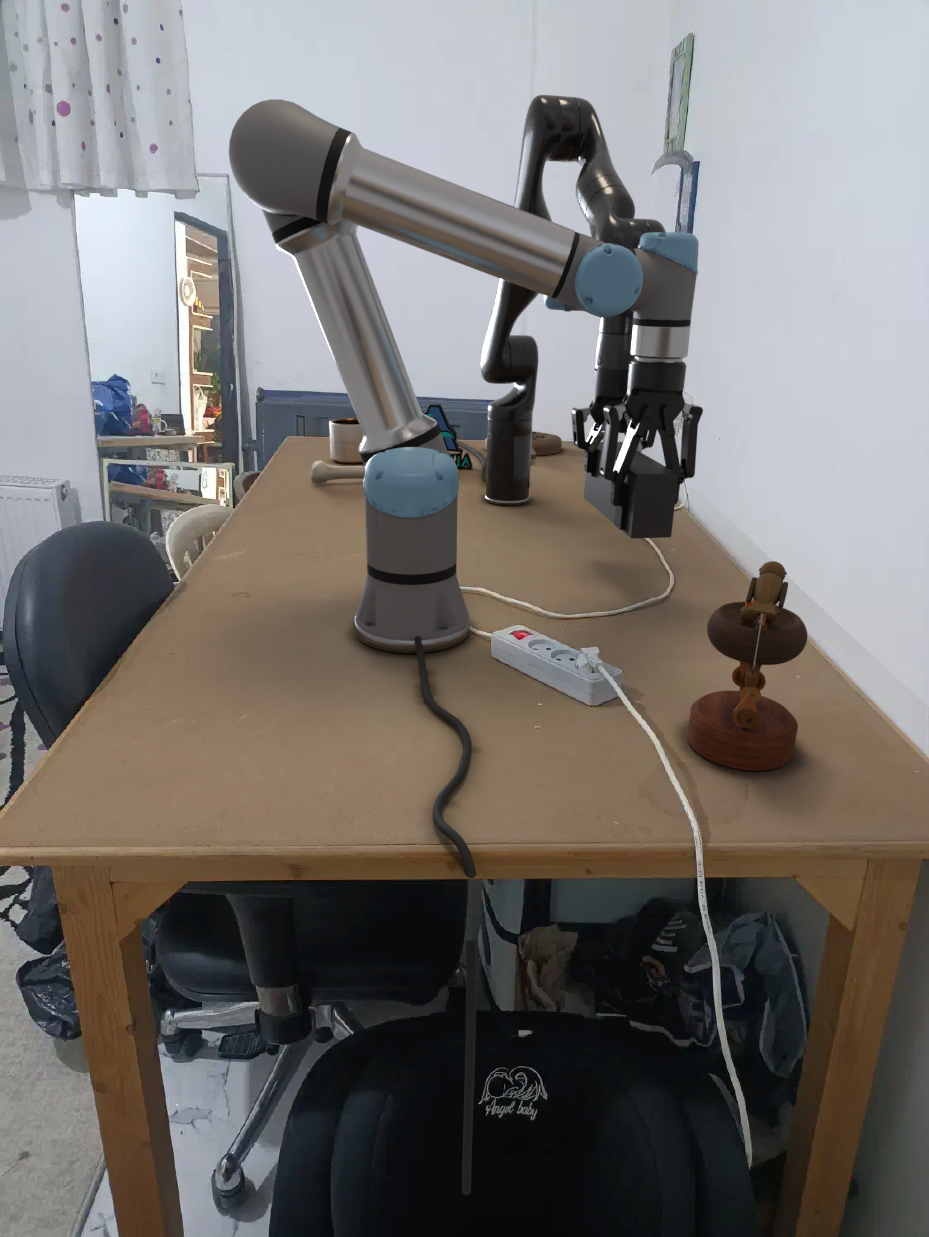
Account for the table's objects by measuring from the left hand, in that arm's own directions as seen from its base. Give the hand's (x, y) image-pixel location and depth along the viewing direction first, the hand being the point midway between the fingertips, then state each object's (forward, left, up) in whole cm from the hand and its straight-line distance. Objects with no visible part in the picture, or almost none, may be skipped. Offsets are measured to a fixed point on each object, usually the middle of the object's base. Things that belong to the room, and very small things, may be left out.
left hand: (641, 526), depth 122 cm
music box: (-41, -7, -11) cm, 43 cm away
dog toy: (+65, +57, -11) cm, 87 cm away
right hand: (+14, +4, +4) cm, 15 cm away
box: (+7, +2, -1) cm, 7 cm away
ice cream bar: (+105, +20, -11) cm, 108 cm away
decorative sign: (+85, +42, -11) cm, 96 cm away
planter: (+90, +63, -11) cm, 110 cm away
